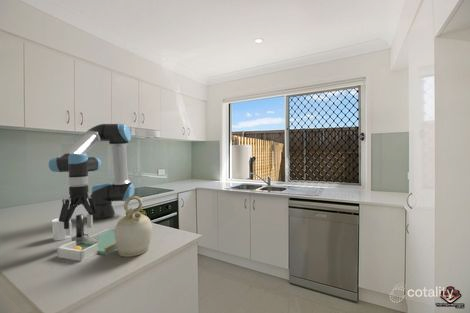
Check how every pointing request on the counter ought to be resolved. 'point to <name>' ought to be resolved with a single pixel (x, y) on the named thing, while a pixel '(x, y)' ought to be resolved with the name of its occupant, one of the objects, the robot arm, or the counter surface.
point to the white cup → (58, 230)
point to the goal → (76, 251)
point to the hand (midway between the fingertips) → (79, 231)
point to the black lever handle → (80, 232)
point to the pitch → (102, 242)
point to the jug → (133, 231)
